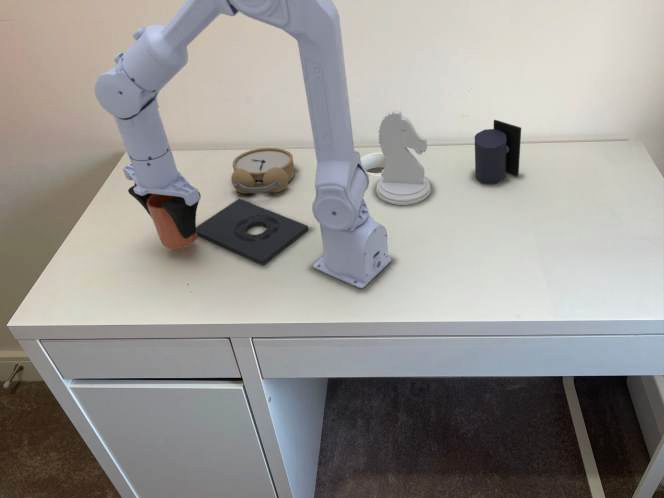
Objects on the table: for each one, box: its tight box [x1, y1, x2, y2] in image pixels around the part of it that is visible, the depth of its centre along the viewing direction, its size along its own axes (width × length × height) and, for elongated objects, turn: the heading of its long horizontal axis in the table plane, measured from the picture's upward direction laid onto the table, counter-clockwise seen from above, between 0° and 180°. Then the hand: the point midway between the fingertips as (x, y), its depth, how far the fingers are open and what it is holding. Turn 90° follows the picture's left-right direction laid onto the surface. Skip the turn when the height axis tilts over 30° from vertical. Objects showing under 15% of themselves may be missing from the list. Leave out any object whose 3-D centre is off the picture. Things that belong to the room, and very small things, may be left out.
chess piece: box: [375, 109, 432, 206], centre depth 99 cm, size 10×10×15 cm
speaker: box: [474, 119, 522, 185], centre depth 103 cm, size 8×6×10 cm
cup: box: [147, 194, 198, 250], centre depth 89 cm, size 6×6×8 cm
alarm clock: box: [230, 147, 296, 195], centre depth 107 cm, size 11×5×15 cm
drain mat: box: [196, 198, 309, 266], centre depth 96 cm, size 16×11×1 cm
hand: (176, 228), depth 90 cm, fingers closed on cup, 5 cm apart
